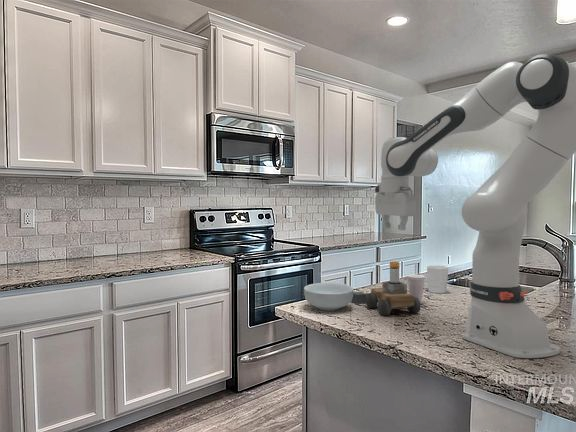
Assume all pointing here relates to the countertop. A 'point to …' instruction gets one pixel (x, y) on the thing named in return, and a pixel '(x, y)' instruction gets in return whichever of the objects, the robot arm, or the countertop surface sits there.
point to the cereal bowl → (328, 295)
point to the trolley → (392, 298)
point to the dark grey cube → (358, 298)
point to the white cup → (437, 278)
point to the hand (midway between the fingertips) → (394, 229)
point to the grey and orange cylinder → (394, 273)
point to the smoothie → (416, 284)
